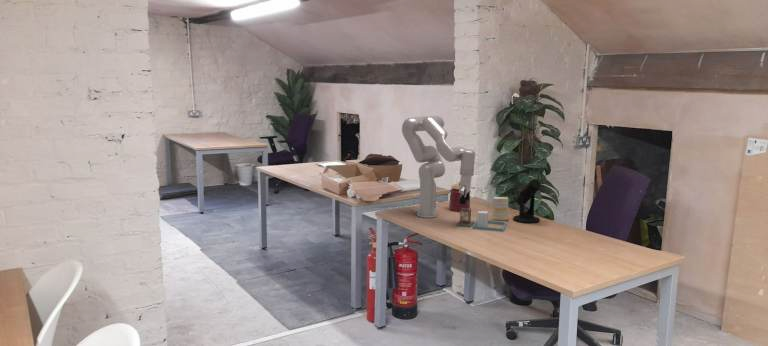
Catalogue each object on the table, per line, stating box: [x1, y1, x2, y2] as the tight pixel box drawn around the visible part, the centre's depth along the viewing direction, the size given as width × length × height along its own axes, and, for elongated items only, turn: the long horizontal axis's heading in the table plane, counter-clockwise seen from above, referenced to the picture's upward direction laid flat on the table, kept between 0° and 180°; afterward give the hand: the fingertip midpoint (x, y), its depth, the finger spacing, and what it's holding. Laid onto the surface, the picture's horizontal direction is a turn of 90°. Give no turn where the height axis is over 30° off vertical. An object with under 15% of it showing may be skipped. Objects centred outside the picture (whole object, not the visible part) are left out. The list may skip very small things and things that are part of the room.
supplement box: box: [492, 196, 510, 221], centre depth 321 cm, size 8×5×13 cm, turn 84°
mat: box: [456, 220, 475, 228], centre depth 311 cm, size 8×10×1 cm
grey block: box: [476, 210, 489, 227], centre depth 307 cm, size 5×5×8 cm
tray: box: [471, 219, 507, 233], centre depth 306 cm, size 17×15×2 cm
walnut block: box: [459, 207, 472, 225], centre depth 310 cm, size 5×5×8 cm
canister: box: [449, 181, 472, 212], centre depth 344 cm, size 13×13×18 cm
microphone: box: [512, 179, 542, 225], centre depth 318 cm, size 15×17×25 cm
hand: (464, 201), depth 309 cm, fingers open, 9 cm apart
